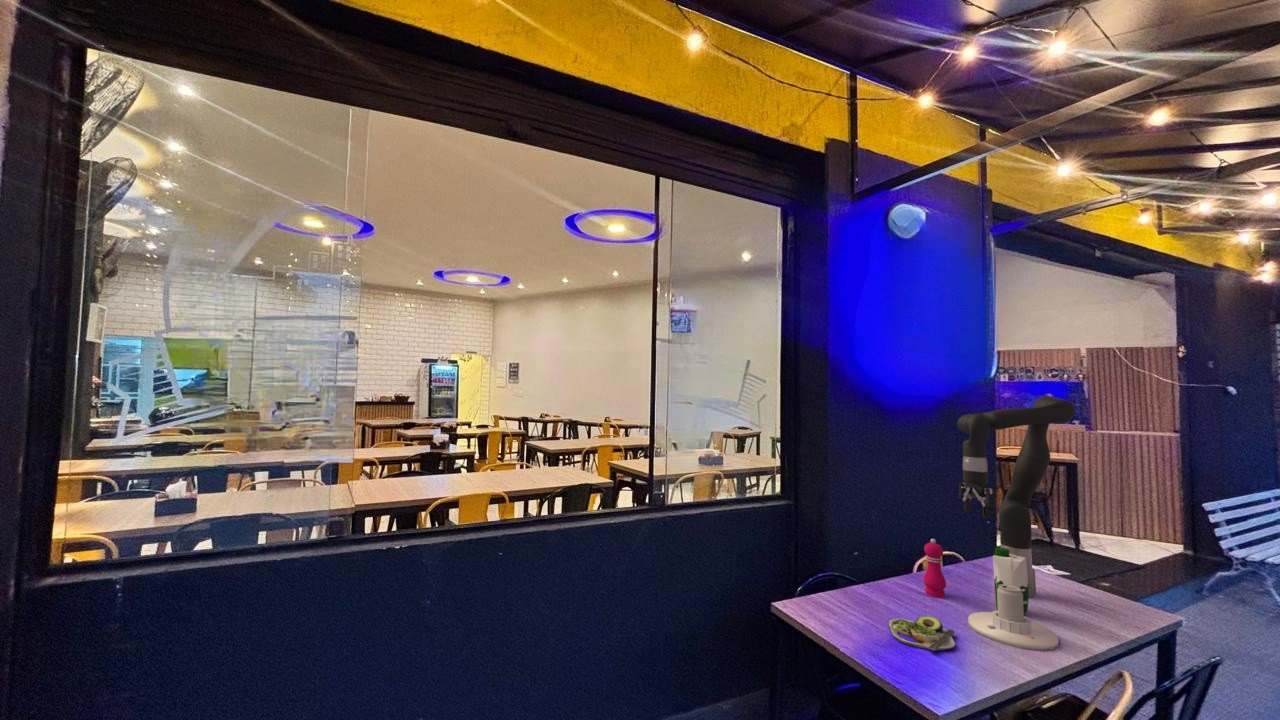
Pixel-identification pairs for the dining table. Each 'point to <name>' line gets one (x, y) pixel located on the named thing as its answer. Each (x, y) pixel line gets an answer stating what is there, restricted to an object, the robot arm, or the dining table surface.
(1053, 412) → the robot arm
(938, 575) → the pepper mill
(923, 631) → the salad plate
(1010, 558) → the milk carton
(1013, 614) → the beverage can
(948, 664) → the dining table surface
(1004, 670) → the dining table surface
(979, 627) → the twist-lock holder
